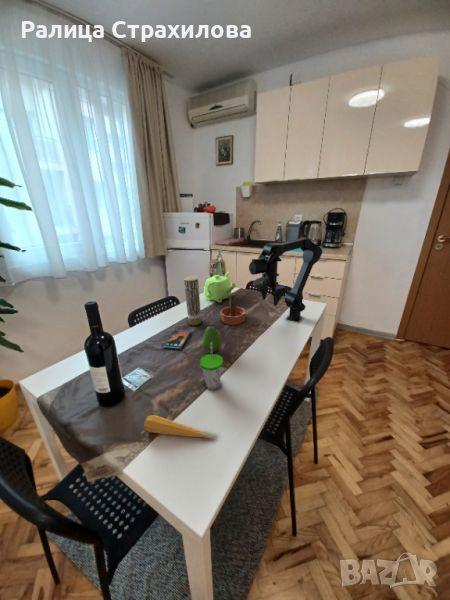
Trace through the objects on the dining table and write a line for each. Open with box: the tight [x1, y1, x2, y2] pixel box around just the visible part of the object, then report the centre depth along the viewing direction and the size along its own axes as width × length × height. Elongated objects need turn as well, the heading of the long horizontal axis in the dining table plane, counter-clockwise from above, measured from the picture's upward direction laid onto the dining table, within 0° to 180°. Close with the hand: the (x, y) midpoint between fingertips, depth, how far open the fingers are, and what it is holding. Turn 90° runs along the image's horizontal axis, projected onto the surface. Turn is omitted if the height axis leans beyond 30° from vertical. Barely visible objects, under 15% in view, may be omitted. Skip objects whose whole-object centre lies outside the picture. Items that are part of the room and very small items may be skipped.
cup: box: [199, 342, 224, 391], centre depth 80 cm, size 8×8×15 cm
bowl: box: [220, 306, 246, 326], centre depth 127 cm, size 13×13×5 cm
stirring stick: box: [229, 292, 237, 317], centre depth 125 cm, size 4×4×14 cm
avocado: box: [201, 325, 222, 354], centre depth 100 cm, size 8×8×12 cm
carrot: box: [143, 414, 215, 439], centre depth 65 cm, size 20×4×4 cm, turn 79°
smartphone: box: [163, 329, 192, 350], centre depth 111 cm, size 8×1×15 cm
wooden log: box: [183, 275, 202, 326], centre depth 121 cm, size 7×7×25 cm
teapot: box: [203, 271, 237, 303], centre depth 154 cm, size 25×22×16 cm
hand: (269, 302), depth 116 cm, fingers open, 9 cm apart
